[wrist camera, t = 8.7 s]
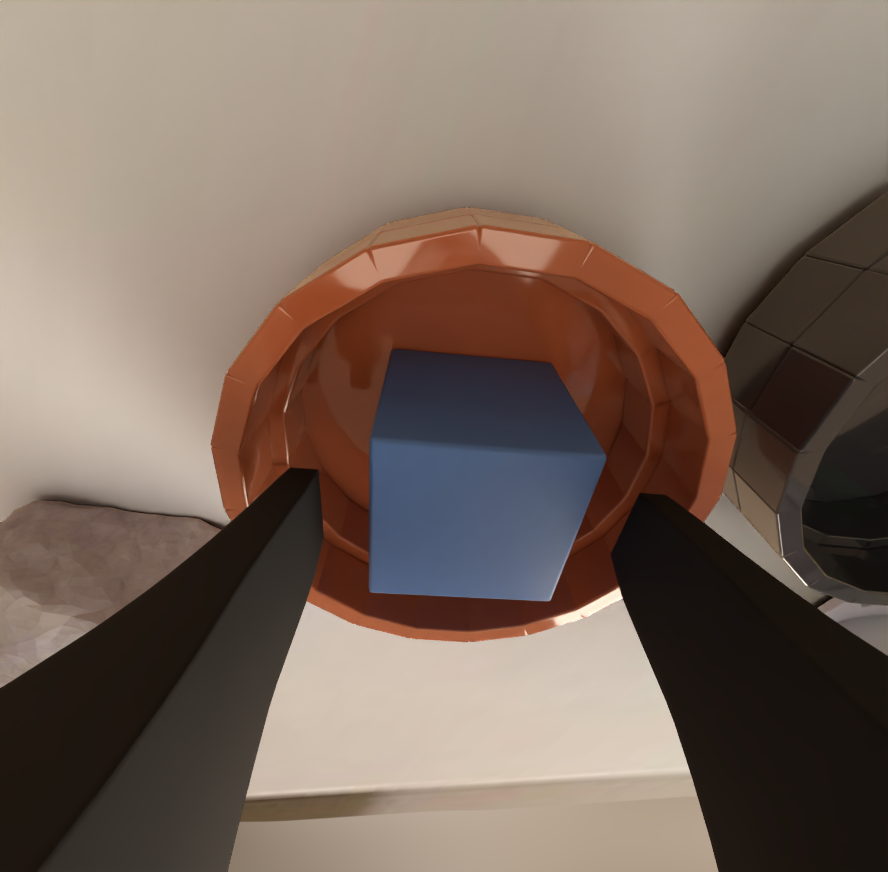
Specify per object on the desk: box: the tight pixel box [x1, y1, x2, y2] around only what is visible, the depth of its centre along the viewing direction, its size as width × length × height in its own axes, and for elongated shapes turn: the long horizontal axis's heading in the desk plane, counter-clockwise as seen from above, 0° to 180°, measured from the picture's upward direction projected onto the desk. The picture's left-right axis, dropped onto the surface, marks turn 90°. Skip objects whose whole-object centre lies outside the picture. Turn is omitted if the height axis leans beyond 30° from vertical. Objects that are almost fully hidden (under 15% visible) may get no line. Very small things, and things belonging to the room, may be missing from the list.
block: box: [369, 349, 606, 601], centre depth 11 cm, size 4×4×4 cm
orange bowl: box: [211, 207, 737, 642], centre depth 11 cm, size 12×12×4 cm
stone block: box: [0, 501, 221, 688], centre depth 17 cm, size 12×5×10 cm
